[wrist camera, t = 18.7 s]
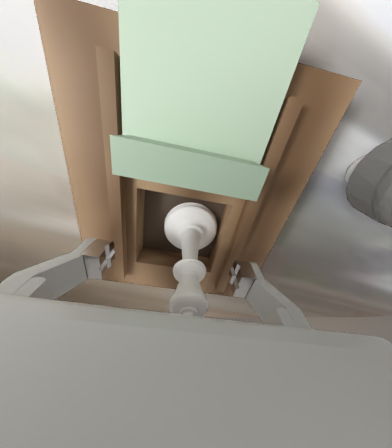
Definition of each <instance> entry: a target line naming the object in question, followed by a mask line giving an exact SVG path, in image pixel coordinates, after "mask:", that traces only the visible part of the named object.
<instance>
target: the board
mask: <svg viewBox="0 0 392 448" xmlns="http://www.w3.org/2000/svg"><path fill="white" fill-rule="evenodd" d="M34 4H35V9H36V14H37V19H38V24H39V29H40V34H41V39H42V44H43V49H44V54H45V60H46V65H47V70H48V75H49V80H50V85H51V90H52V95H53V100H54V105H55V110H56V115H57V120H58V125H59V130H60V135H61V140H62V145H63V150H64V155H65V160H66V165H67V170H68V175H69V180H70V185H71V190H72V195H73V200H74V205H75V210H76V215H77V220H78V225H79V230H80V235H81V240H82V242H83V241H84V240H85V239H87V238H95V239H101V240H107V241H113V242H114V246H115V247H114V248H113V250H114V251H115V259H114V262H113V264H112V266H111V267H109V268H107V270H108V272H107V273H106V275H105V276H104V278H103V279H102V280H108V281H116V282H124V283H131V284H139V285H147V286H155V287H163V288H170V289H176V288H177V285H178V283H179V281H177V280H176V279H175V277H174V274H173V267H174V265H175V264H176V263H177V262H178V261H180V260H182V249H180V248H177V247H176V246H174V245H173V244H172V243H171V242H170V241H169V240H168V239H167V237H166V235H165V230H164V223H165V218H166V216H167V214H168V213H169V212H170V210H171V209H173V208H174V207H175V206H177V205H179V204H182V203H188V202H193V203H198V204H201V205H204V206H206V207H207V208H208V209H210V210H211V211H212V213H213V214H214V216H215V218H216V221H217V232H216V235H215V238H214V239H213V241H212V242H211V243H210V244H209V245H207V246H206V247H204V248H202V249H199V250H198V259H197V260H199V261H201V262H202V263H203V264H204V265H205V267H206V274H205V277H204V279H203V280H202V281H200V282H199V283H200V285H201V288H202V291H203V293H209V294H217V295H225V296H233V295H232V291H231V286H232V284H231V283H230V282H229V271H230V269H231V268H232V267H233V262H234V260H239V261H246V262H255V263H257V265H258V267H259V269H261V267H262V265H263V263H264V262H265V260H266V258H267V256H268V254H269V252H270V250H271V249H272V247H273V245H274V243H275V241H276V239H277V237H278V236H279V234H280V232H281V230H282V228H283V226H284V224H285V223H286V221H287V219H288V217H289V215H290V213H291V211H292V210H293V208H294V206H295V204H296V202H297V200H298V199H299V197H300V195H301V193H302V191H303V189H304V187H305V186H306V184H307V182H308V180H309V178H310V176H311V174H312V173H313V171H314V169H315V167H316V165H317V163H318V161H319V160H320V158H321V156H322V154H323V152H324V150H325V148H326V147H327V145H328V143H329V141H330V139H331V137H332V135H333V134H334V132H335V130H336V128H337V126H338V124H339V122H340V121H341V119H342V117H343V115H344V113H345V111H346V109H347V108H348V106H349V104H350V102H351V100H352V98H353V97H354V95H355V93H356V91H357V89H358V87H359V85H360V84H361V82H362V81H361V80H357V79H354V78H350V77H347V76H343V75H340V74H336V73H333V72H329V71H325V70H322V69H318V68H315V67H311V66H308V65H304V64H301V63H297V66H296V69H295V71H294V74H293V77H292V79H291V82H290V85H289V87H288V90H287V93H286V96H285V98H284V101H283V104H282V106H281V109H280V112H279V114H278V117H277V120H276V122H275V125H274V128H273V131H272V133H271V136H270V139H269V141H268V144H267V147H266V149H265V152H264V155H263V157H262V160H261V163H260V165H263V166H265V167H267V168H269V169H270V170H269V172H268V175H267V177H266V180H265V182H264V185H263V187H262V190H261V192H260V195H259V197H258V199H257V202H256V201H251V200H246V199H240V198H235V197H230V196H225V195H219V194H214V193H209V192H203V191H198V190H193V189H188V188H182V187H177V186H172V185H166V184H161V183H156V182H151V181H145V180H140V179H135V178H129V177H124V176H119V175H114V174H112V163H111V148H110V135H122V108H121V77H120V46H119V15H118V12H117V11H113V10H110V9H106V8H102V7H99V6H95V5H92V4H88V3H85V2H81V1H78V0H34ZM233 297H234V296H233Z"/></svg>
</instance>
